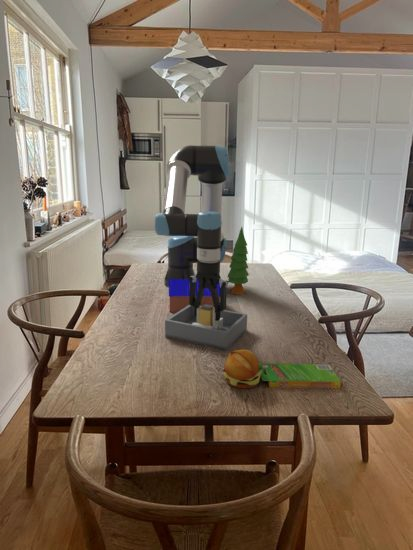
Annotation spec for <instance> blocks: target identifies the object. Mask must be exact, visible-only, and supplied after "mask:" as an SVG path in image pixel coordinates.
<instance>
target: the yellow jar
mask: <svg viewBox="0 0 413 550" xmlns="http://www.w3.org/2000/svg"><path fill="white" fill-rule="evenodd" d="M214 310H215V308H214V307H213V306H212V305H207V304H205V305H203V306H202V307H201V308H200V309H199V323H200V324H205V325H210V326H212V319H213V311H214Z"/></svg>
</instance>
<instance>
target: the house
mask: <svg viewBox="0 0 413 550" xmlns="http://www.w3.org/2000/svg"><path fill="white" fill-rule="evenodd" d="M198 287H199V282H198V281H196V297H197V293H198ZM217 288H218V289H217V291H218V296H219V300H220V288H221V286H220V283H218V284H217ZM189 292H190V283H189V280H188V279H169V287H168V297H169V313H177V312H179V311H180V310H182V309H183V308H185V307H187V306H188V305H189ZM205 304H207V305H212V306H213V307H214V304H213V299H212V295H211V292H210V289H208V288H205V290H204V294H203V297H202V301H201V304H200V306H203V305H205Z"/></svg>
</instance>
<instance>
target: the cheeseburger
mask: <svg viewBox="0 0 413 550" xmlns="http://www.w3.org/2000/svg"><path fill="white" fill-rule="evenodd" d="M260 364H261V363H260V362H259V359H258V357H257V355H256V354H255V353H254V352H252V351H251V350H249V349H237V350H233V351H231V352H230V353H229V354H228V356H227V357H226V360H225V363H224V367H223V369H222V372H223V376H224V379H225V381H226V382H227V384H229V385H230V386H232V387H235V388H238V389H240V388H241V389H250V388H254V387H256V386H257V385H258V384H259V383H260V381H261V373H262V371H261V370H262V367H263V366H261V365H260Z"/></svg>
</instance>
